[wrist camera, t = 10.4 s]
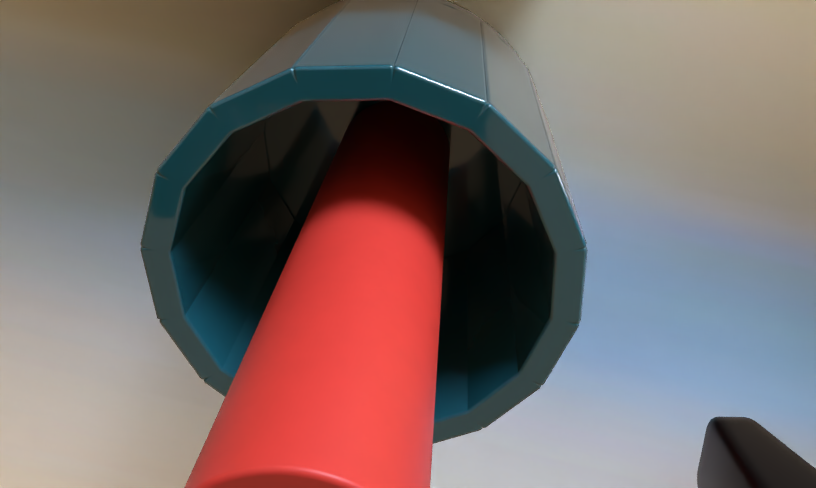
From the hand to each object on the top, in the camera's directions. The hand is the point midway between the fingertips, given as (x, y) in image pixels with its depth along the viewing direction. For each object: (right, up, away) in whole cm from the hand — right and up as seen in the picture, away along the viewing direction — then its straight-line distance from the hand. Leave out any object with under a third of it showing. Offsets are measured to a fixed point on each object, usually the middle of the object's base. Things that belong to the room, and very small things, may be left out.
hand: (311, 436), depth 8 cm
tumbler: (+1, +5, +9) cm, 10 cm away
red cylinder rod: (+1, +4, +8) cm, 9 cm away
